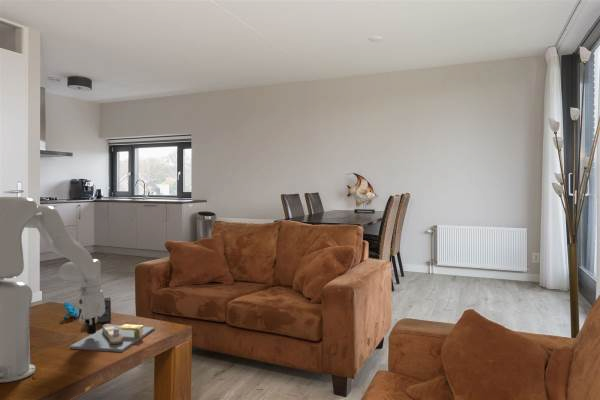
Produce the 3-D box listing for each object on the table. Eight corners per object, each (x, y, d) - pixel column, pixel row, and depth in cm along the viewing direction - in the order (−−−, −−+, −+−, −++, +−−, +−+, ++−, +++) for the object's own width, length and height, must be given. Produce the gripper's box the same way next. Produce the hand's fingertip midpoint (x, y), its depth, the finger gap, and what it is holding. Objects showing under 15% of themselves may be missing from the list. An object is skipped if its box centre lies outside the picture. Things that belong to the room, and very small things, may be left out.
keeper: (138, 338, 176) (138, 328, 176) (119, 337, 177) (119, 327, 177) (143, 335, 180) (143, 325, 180) (124, 333, 181) (124, 324, 181)
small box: (111, 318, 205) (111, 296, 205) (111, 322, 199) (110, 300, 199) (86, 321, 201) (86, 299, 201) (85, 325, 195) (85, 302, 195)
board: (121, 352, 164) (121, 349, 164) (69, 348, 167) (69, 345, 167) (154, 329, 190) (154, 327, 190) (108, 326, 193) (108, 324, 193)
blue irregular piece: (78, 317, 201) (62, 302, 201) (68, 326, 200) (52, 312, 200) (85, 313, 212) (71, 299, 212) (76, 322, 211) (61, 308, 211)
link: (124, 342, 170) (124, 330, 170) (111, 345, 167) (111, 332, 167) (112, 328, 187) (112, 317, 186) (99, 331, 184) (99, 319, 184)
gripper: (81, 294, 167) (82, 340, 168) (112, 286, 181) (112, 329, 182) (68, 292, 170) (68, 338, 171) (99, 284, 184) (99, 326, 185)
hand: (91, 333), depth 177 cm, fingers closed
